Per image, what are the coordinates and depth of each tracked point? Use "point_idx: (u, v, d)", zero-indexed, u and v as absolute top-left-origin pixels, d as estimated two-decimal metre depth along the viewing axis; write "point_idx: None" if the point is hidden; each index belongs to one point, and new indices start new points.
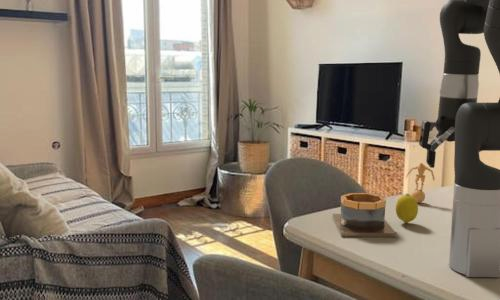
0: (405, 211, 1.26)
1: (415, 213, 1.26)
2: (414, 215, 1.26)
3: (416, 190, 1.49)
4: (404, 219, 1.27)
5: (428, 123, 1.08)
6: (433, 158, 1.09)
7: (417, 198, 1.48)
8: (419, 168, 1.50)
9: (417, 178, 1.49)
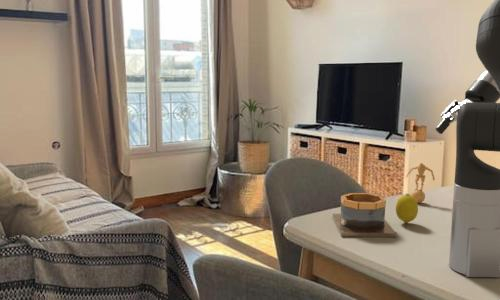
0: (405, 211, 1.26)
1: (415, 213, 1.26)
2: (414, 215, 1.26)
3: (416, 190, 1.49)
4: (404, 219, 1.27)
5: (454, 100, 1.35)
6: (440, 122, 1.32)
7: (417, 198, 1.48)
8: (419, 168, 1.50)
9: (417, 178, 1.49)
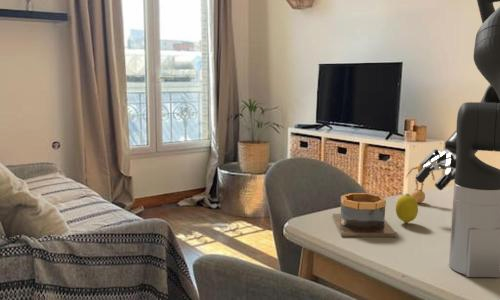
0: (405, 211, 1.26)
1: (415, 213, 1.26)
2: (414, 215, 1.26)
3: (416, 190, 1.49)
4: (404, 219, 1.27)
5: (435, 149, 1.35)
6: (420, 172, 1.33)
7: (417, 198, 1.48)
8: (419, 168, 1.50)
9: None
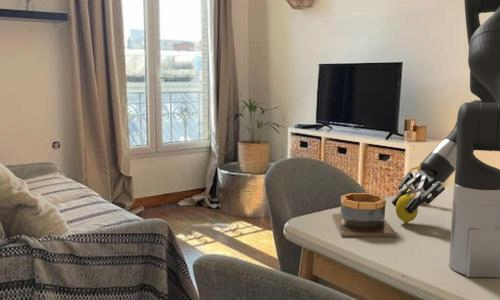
0: (405, 211, 1.26)
1: (415, 213, 1.26)
2: (414, 215, 1.26)
3: None
4: (404, 219, 1.27)
5: (409, 172, 1.34)
6: (397, 196, 1.31)
7: None
8: (419, 168, 1.50)
9: None
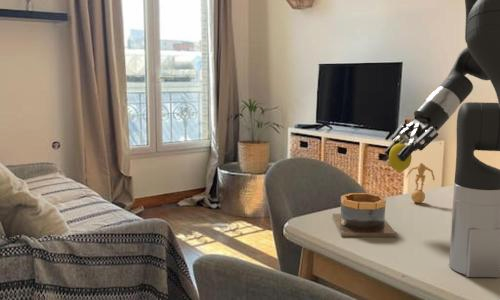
0: (398, 159, 1.23)
1: (408, 161, 1.23)
2: (407, 163, 1.23)
3: (416, 190, 1.49)
4: (397, 167, 1.24)
5: (403, 123, 1.31)
6: (390, 146, 1.28)
7: (417, 198, 1.48)
8: (419, 168, 1.50)
9: (417, 178, 1.49)
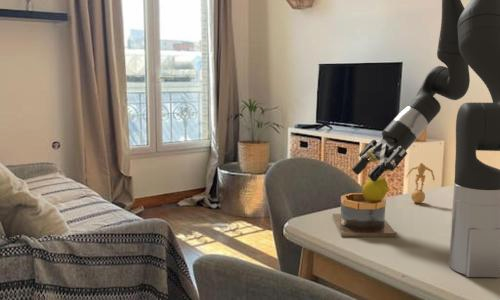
0: (370, 194, 1.21)
1: (378, 200, 1.22)
2: (376, 200, 1.22)
3: (416, 190, 1.49)
4: (365, 198, 1.23)
5: (373, 140, 1.30)
6: (357, 163, 1.28)
7: (417, 198, 1.48)
8: (419, 168, 1.50)
9: (417, 178, 1.49)
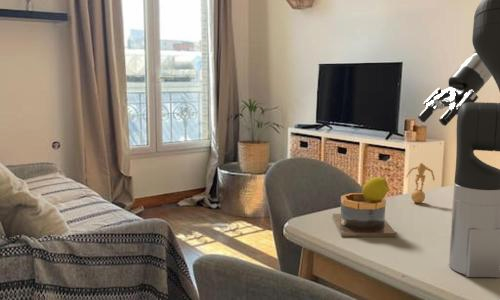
0: (370, 193, 1.21)
1: (378, 199, 1.22)
2: (376, 200, 1.22)
3: (416, 190, 1.49)
4: (365, 198, 1.23)
5: (438, 88, 1.31)
6: (423, 110, 1.29)
7: (417, 198, 1.48)
8: (419, 168, 1.50)
9: (417, 178, 1.49)
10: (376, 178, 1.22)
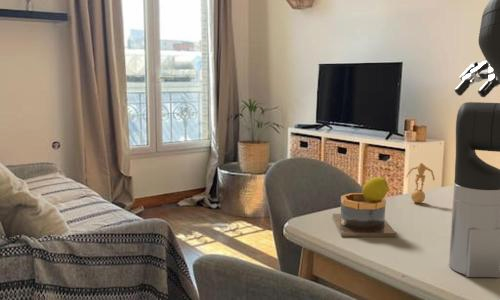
0: (370, 193, 1.21)
1: (378, 199, 1.22)
2: (376, 200, 1.22)
3: (416, 190, 1.49)
4: (365, 198, 1.23)
5: (474, 62, 1.29)
6: (460, 84, 1.27)
7: (417, 198, 1.48)
8: (419, 168, 1.50)
9: (417, 178, 1.49)
10: (376, 178, 1.22)
